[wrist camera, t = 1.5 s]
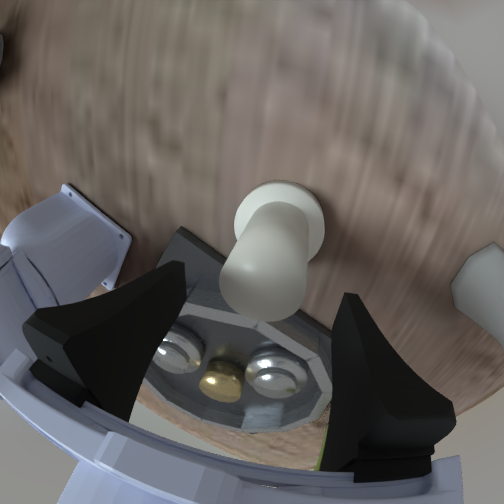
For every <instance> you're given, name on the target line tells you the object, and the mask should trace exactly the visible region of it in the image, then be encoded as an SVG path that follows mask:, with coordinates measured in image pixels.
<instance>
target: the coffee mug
mask: <svg viewBox="0 0 504 504" xmlns="http://www.w3.org/2000/svg"><path fill="white" fill-rule="evenodd" d="M3 48H4V42H3V37H2V35H1V34H0V67H1V62H2V57H3Z"/></svg>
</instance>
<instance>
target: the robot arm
mask: <svg viewBox="0 0 504 504" xmlns="http://www.w3.org/2000/svg"><path fill="white" fill-rule="evenodd" d="M122 235H123V236H122ZM131 242H132V237H131V236H130V235H129V234H128V233H127V232H126V231H124V230H123V229H122V228H121V227H119V226H118V225H117V224H115V223H114V222H113V221H112V220H110V219H109V218H108V217H107V216H106V215H104V214H103V213H102V212H101V211H99V210H98V209H97V208H96V207H95V206H93V205H92V204H91V203H90V202H88V201H87V200H86V199H85V198H84V197H83V196H81V195H80V194H79V193H78V192H77V191H75V190H74V189H73V188H72V187H71V186H70V185H69V184H67V183H65V184H63V185H62V189H61V192H59V193H57V194H55V195H53V196H51V197H49V198H47V199H45V200H44V201H42V202H40V203H38V204H36V205H34V206H33V207H31V208H29V209H27V210H25V211H24V212H22V213H20V214H19V215H18V216H16V217H15V218H14V219H13V220H12V221H11V223H10V224H9V225H8V227H7V228H6V230H5V231H4V233H3V236H2V239H1V243H0V399H2V400H5V401H6V402H7V403H8V404H9V405H10V406H11V407H12V408H13V409H14V410H15V411H16V412H17V413H18V414H19V415H20V416H21V417H22V418H23V419H24V420H26V421H27V422H28V423H29V424H30V425H31V426H32V427H34V428H35V429H36V430H37V431H38V432H40V433H41V434H42V435H43V436H44V437H46V438H47V439H48V440H50V441H51V442H52V443H53V444H55V445H56V446H57V447H59V448H60V449H62V450H63V451H64V452H66V453H67V454H69V455H70V456H72V457H73V458H74V459H76V460H78V461H79V462H78V465H77V466H76V468H75V470H74V472H73V474H72V475H71V477H70V479H69V481H68V483H67V485H66V487H65V489H64V491H63V493H62V494H61V496H60V499H59V500H58V502H57V504H463V483H462V471H461V461H460V456H459V455H456V456H451V457H447V458H441V459H437V460H434V461H432V462H431V455H433V454H434V452H435V450H434V445H435V444H436V443H438V442H439V441H440V440H441V439H443V438H444V437H445V436H447V435H448V434H449V433H450V432H451V431H452V430H453V428H454V427H455V425H456V417H455V412H454V408H453V404H452V401H450V400H449V399H447V398H446V397H444V396H443V395H442V394H440V393H439V392H437V391H436V390H435V389H433V388H432V387H431V386H430V385H429V384H427V383H426V382H425V381H424V380H423V379H422V378H420V377H419V376H418V375H417V374H416V373H415V372H414V371H413V370H412V369H411V368H410V367H409V366H408V365H407V364H406V363H405V362H404V361H403V359H402V358H401V357H400V356H399V355H398V354H397V352H396V351H395V350H394V349H393V348H392V346H391V345H390V344H389V342H388V341H387V339H386V338H385V337H384V335H383V334H382V332H381V331H380V330H379V328H378V327H377V325H376V323H375V322H374V320H373V319H372V317H371V315H370V314H369V312H368V310H367V309H366V307H365V305H364V304H363V302H362V300H361V299H360V297H359V296H358V294H352V293H346V292H345V293H344V295H343V298H342V301H341V304H340V307H339V310H338V313H337V315H336V318H335V321H334V324H333V327H332V339H331V360H332V401H331V409H330V417H329V424H328V430H327V436H326V441H325V446H324V451H323V455H322V460H321V464H320V468H319V471H309V470H298V469H290V468H282V467H275V466H269V465H263V464H257V463H252V462H247V461H242V460H238V459H233V458H229V457H225V456H221V455H217V454H213V453H210V452H206V451H203V450H200V449H196V448H193V447H190V446H187V445H184V444H181V443H177V442H175V441H172V440H169V439H167V438H164V437H161V436H159V435H156V434H153V433H151V432H149V431H146V430H144V429H142V428H139V427H137V426H134V425H132V424H130V423H129V419H130V415H131V412H132V409H133V406H134V403H135V400H136V397H137V395H138V392H139V389H140V386H141V384H142V382H143V379H144V377H145V374H146V372H147V370H148V367H149V365H150V363H151V361H152V359H153V357H154V355H155V353H156V351H157V349H158V348H159V346H160V344H161V343H162V341H163V340H164V338H165V337H166V335H167V333H168V332H169V330H170V329H171V327H172V326H173V324H174V322H175V321H176V319H177V317H178V316H179V314H180V312H181V310H182V308H183V305H184V303H185V301H186V298H187V291H186V277H185V262H180V261H175V260H172V261H170V262H167V263H165V264H164V265H162V266H160V267H158V268H156V269H154V270H153V271H151V272H149V273H147V274H145V275H143V276H141V277H140V278H138V279H136V280H134V281H132V282H130V283H128V284H126V285H124V286H122V287H119V288H117V289H115V290H112V289H113V288H114V286H115V283H116V280H117V278H118V275H119V272H120V270H121V267H122V264H123V262H124V259H125V257H126V254H127V252H128V249H129V247H130V245H131ZM100 284H102V285H103V286H105V287H106V288H107V289H109V290H112V291H110V292H107V293H105V294H102V295H99V296H96V297H93V298H90V299H86V298H87V297H88V296H89V295H90V294H91V293H92V292H93V291H94V290H95V289H96V288H97V287H98V286H99V285H100ZM85 299H86V300H85ZM263 485H265V486H263ZM267 486H271V487H267ZM272 487H277V488H272Z"/></svg>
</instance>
